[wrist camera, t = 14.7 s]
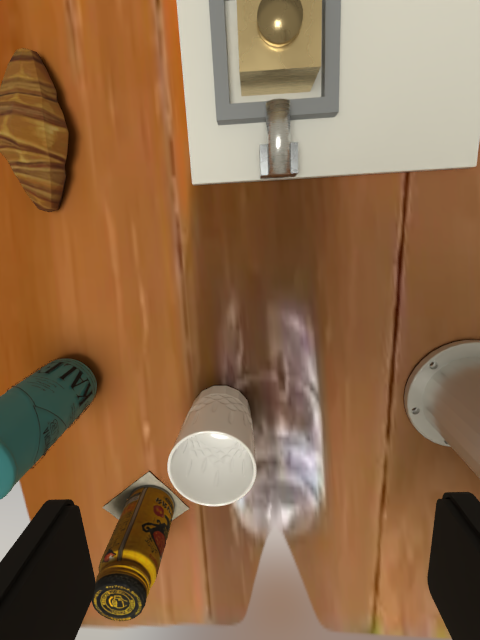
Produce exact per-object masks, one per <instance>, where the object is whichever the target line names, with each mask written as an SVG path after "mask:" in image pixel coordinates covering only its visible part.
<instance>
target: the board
mask: <svg viewBox="0 0 480 640" xmlns="http://www.w3.org/2000/svg"><path fill="white" fill-rule="evenodd" d="M177 11H178V23H179V35H180V46H181V58H182V70H183V81H184V93H185V105H186V116H187V128H188V140H189V151H190V163H191V175H192V184H193V185H207V184H223V183H239V182H255V181H271V180H287V179H303V178H319V177H335V176H351V175H367V174H383V173H399V172H415V171H431V170H447V169H463V168H472V167H476V164H477V156H478V148H479V139H480V0H322V33H321V68H320V70H319V72H318V74H317V77H316V79H315V81H314V84H313V86H312V88H311V91H310V92H299V93H284V94H269V95H254V96H241V85H240V73H239V49H238V25H237V0H177ZM273 99H288V100H290V132H291V142H298V174H297V175H296V176H295V177H289V178H273V179H260V162H259V147H260V145H261V144H267V135H266V102H268V101H270V100H273Z"/></svg>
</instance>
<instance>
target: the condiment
mask: <svg viewBox="0 0 480 640" xmlns="http://www.w3.org/2000/svg"><path fill="white" fill-rule="evenodd" d="M127 499H128V500H127ZM103 508H104V509H105V510H106V511H108V512H110V513H111V514H112V515H113V516H115V517H116V518H117V519H119V521H118V523H117V525H116V528H115V530H114V532H113V534H112V537H111V539H110V541H109V543H108V545H107V548H106V550H105V552H104V554H103V556H102V559H101V561H100V565H99V574H98V576H97V579H96V583H95V591H94V595H93V598H92V604H93V606H94V608H95V610H97V612H98V613H99V614H101V615H102V616H104V617H106V618H108V619H111V620H118V621H126V620H131V619H133V618H135V617H136V616H138V615H139V614H140V613H141V612H142V609H143V608H144V606H145V602H146V598H147V596H148V594H149V591H150V588H151V587H152V585H153V584H154V582H155V579H156V577H157V573H158V570H159V566H160V562H161V559H162V555H163V551H164V548H165V545H166V540H167V537H168V533H169V529H170V525H171V521H172V520H174V519H175V518H176V517H178V516H179V515H181V514H182V513H183V512H185V511H186V510H188V509H189V508H188V507H187V506H186V505H185V504H184V503H183V502H182V501H181V500H180V499H179V498H178V497H177V496H176V495H175V494H174V493H173V492H172V491H170V490H169V489H168V488H167V487H166V486H165V485H164V484H163V483H162V482H160V481H159V480H157V479H156V478H155V477H154V476H153V475H152V474H151V473H150V472H148V473H147V474H145V475H144V476H143V477H141V478H140V479H138V480H137V481H136V482H134V483H133V484H132V485H131V486H129V487H128V488H127V489H126V490H124V491H123V492H122V493H121V494H119V495H118V496H117V497H115V498H114V499H113V500H111V501H110V502H109V503H108V504H107V505H105V506H104V507H103Z"/></svg>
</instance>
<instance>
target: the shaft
mask: <svg viewBox="0 0 480 640" xmlns="http://www.w3.org/2000/svg"><path fill="white" fill-rule="evenodd" d="M266 135H267V144H261V145H260V147H259V162H260V179H273V178H289V177H295V176H296V175H297V174H298V142H291V132H290V100H288V99H273V100H270V101H268V102H266Z"/></svg>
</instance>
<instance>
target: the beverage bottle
mask: <svg viewBox="0 0 480 640" xmlns="http://www.w3.org/2000/svg"><path fill="white" fill-rule="evenodd" d="M54 360H55V359H54ZM51 361H52V360H51ZM51 361H49V362H50V363H49V364H48V363H47V365H46V366H45V365H44V367H43V368H41V369H40V370H38V369H39V368H38V369H37V370H38V371H37V370H35V371H36V372H35V371H34V372H35V373H34V372H33V373H34V374H32V375H31V374H30V375H31V376H27V377H28V378H26V379H25V378H24V379H25V380H23V381H22V380H21V381H22V382H20V381H19V382H20V383H19V382H17V383H19V384H17V385H16V386H12V387H13V388H11V389H10V390H7V392H6V393H5V394H3V395H2V396H0V499H2V498H3V497H5V496H6V495H7V494H8V493H9V492H10V491H11V489H12V488H13V486H14V485H15V484H16V483H17V482H18V481H19V480H20V479H21V477H22V476H23V475H24V474H25V473H26V472H27V471H28V470H29V469H30V468H31V467H32V466H33V465H34V464H35V463H36V462H37V461H38V460H39V459H40V457H41V456H42V455H44V456H45V455H46V452H47V451H49V450H48V449H49V448H50V447H51V445H52V444H54V442H55V441H57V439H58V438H59V437H60V436H61V435H62V434H63V433H64V431H65V430H66V429H67V428H69V426H70V427H71V426H72V425H71V424H73V422H74V423H75V422H76V421H77V420H78V417H79V416H80V415H81V413H82V412H83V413H84V412H85V411H86V410H85V409H86V407H87V406H88V405H89V404H90V403H91V402H93V401H92V400H93V399H94V397H95V394H96V390H97V382H96V378H95V376H94V374H93V373H92V371H91V370H90V369H89V368H88V367H87V366H86V365H85V364H83V363H82V362H80V361H78V360H75V359H69V358H60V359H57V360H55V361H52V362H51ZM8 389H9V388H8ZM88 407H89V406H88ZM88 407H87V408H88ZM84 410H85V411H84ZM76 418H77V420H76V421H74V420H75V419H76ZM67 431H68V430H67ZM38 463H39V462H38ZM36 465H37V464H36ZM33 468H34V467H33Z"/></svg>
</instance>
